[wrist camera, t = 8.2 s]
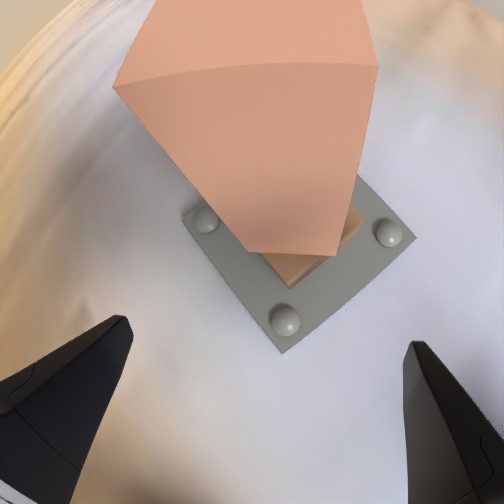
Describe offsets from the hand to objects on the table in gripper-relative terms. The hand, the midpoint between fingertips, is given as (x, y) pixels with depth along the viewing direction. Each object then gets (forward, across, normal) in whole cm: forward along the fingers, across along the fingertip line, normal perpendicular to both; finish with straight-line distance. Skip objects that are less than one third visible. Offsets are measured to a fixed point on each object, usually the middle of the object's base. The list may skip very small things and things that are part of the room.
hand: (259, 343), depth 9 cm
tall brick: (+11, 0, +1) cm, 11 cm away
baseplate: (+14, 0, +4) cm, 15 cm away
